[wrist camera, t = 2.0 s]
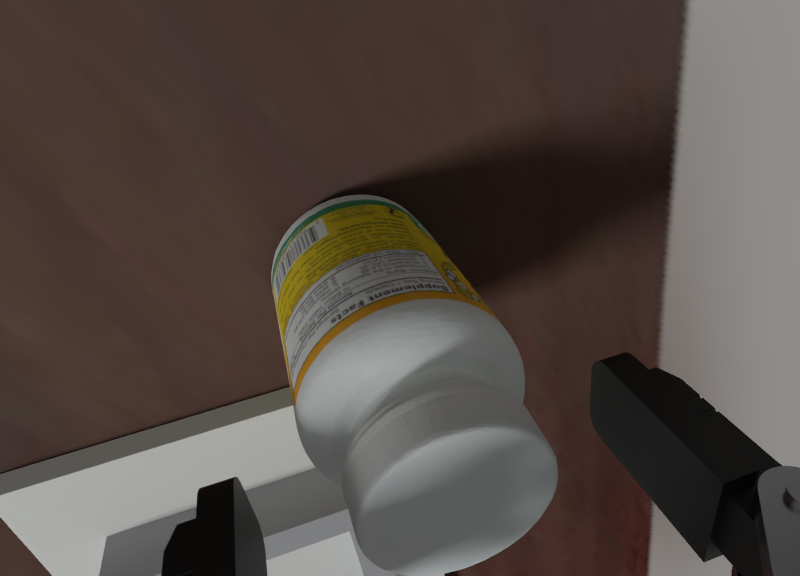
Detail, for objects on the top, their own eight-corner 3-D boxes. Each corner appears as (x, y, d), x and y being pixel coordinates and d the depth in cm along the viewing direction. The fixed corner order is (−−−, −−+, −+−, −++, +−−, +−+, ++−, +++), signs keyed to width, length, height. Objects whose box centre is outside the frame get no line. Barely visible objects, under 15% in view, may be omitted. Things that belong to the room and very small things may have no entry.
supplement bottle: (256, 203, 16) (294, 438, 8) (429, 178, 17) (614, 361, 9) (284, 350, 19) (333, 632, 11) (431, 320, 20) (575, 554, 12)
